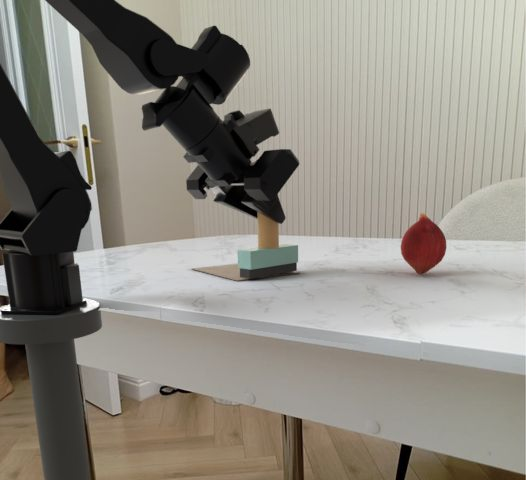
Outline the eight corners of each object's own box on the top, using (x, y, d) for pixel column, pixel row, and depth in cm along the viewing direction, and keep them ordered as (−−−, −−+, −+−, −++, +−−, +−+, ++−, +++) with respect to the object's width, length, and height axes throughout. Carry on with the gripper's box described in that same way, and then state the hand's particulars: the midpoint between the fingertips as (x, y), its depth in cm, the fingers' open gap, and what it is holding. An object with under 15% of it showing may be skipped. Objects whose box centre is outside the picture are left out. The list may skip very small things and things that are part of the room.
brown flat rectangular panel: (299, 273, 83) (299, 272, 83) (237, 281, 78) (237, 280, 78) (248, 263, 94) (248, 262, 94) (191, 269, 89) (191, 268, 89)
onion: (450, 272, 80) (454, 212, 78) (436, 279, 75) (439, 214, 73) (409, 270, 83) (411, 211, 81) (392, 275, 78) (395, 214, 76)
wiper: (251, 279, 77) (248, 161, 73) (237, 277, 79) (233, 162, 75) (299, 271, 83) (298, 162, 79) (284, 269, 85) (283, 163, 81)
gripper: (285, 71, 65) (356, 174, 74) (201, 93, 80) (269, 177, 89) (227, 146, 63) (307, 243, 72) (152, 154, 78) (226, 234, 87)
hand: (276, 220), depth 80 cm, fingers closed on wiper, 3 cm apart
